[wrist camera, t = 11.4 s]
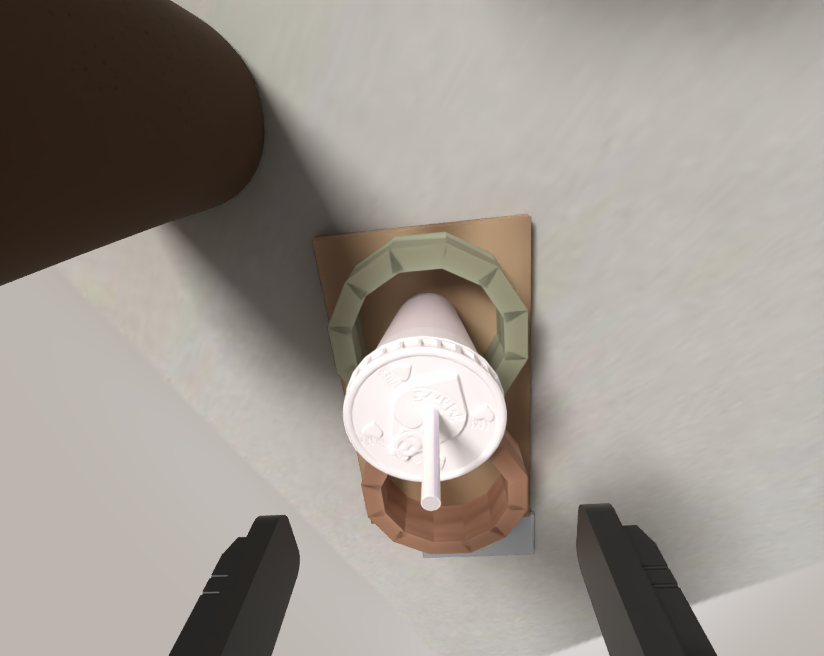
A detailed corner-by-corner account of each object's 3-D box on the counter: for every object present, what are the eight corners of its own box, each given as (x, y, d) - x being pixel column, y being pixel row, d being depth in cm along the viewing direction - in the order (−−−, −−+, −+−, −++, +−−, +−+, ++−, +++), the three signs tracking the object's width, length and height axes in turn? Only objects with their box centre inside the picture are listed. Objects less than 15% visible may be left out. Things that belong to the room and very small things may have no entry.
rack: (527, 214, 22) (545, 226, 19) (526, 506, 31) (539, 553, 28) (316, 236, 24) (295, 252, 20) (373, 512, 32) (365, 559, 29)
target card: (533, 511, 31) (534, 515, 31) (533, 550, 33) (534, 555, 33) (417, 516, 32) (417, 520, 32) (423, 554, 34) (423, 559, 34)
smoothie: (502, 304, 24) (584, 489, 11) (444, 385, 26) (456, 614, 13) (406, 249, 23) (372, 382, 10) (355, 338, 25) (274, 539, 12)
